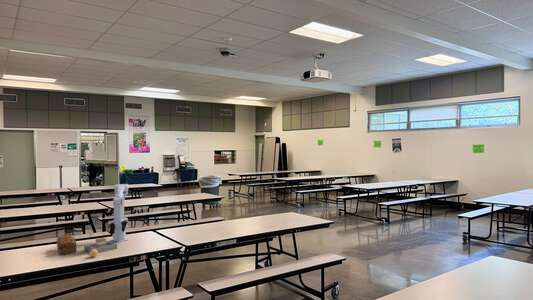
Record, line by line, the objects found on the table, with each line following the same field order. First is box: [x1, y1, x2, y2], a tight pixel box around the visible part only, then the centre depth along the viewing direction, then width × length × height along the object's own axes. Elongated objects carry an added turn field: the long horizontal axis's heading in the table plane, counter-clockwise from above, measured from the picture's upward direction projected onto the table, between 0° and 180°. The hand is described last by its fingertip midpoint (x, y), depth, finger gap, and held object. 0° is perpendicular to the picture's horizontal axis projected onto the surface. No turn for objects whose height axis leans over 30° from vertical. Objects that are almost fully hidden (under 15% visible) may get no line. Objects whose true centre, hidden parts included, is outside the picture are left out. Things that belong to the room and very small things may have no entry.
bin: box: [83, 240, 118, 254], centre depth 244 cm, size 14×16×4 cm
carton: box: [95, 237, 107, 248], centre depth 244 cm, size 5×5×7 cm
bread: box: [56, 234, 77, 256], centre depth 240 cm, size 19×11×10 cm, turn 35°
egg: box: [88, 249, 99, 258], centre depth 227 cm, size 5×5×5 cm
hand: (118, 232), depth 253 cm, fingers open, 7 cm apart
